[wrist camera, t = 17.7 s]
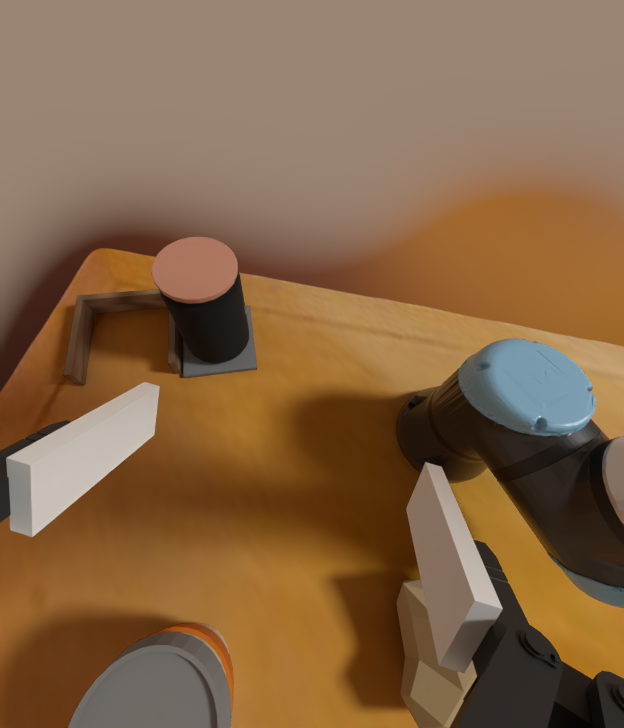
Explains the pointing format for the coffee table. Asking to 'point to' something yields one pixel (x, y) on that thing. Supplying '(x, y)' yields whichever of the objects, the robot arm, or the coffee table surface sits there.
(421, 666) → the low-poly potato
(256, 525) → the coffee table surface
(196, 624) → the reusable coffee cup
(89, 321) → the walnut holder
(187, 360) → the charcoal mat
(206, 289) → the coffee jar
